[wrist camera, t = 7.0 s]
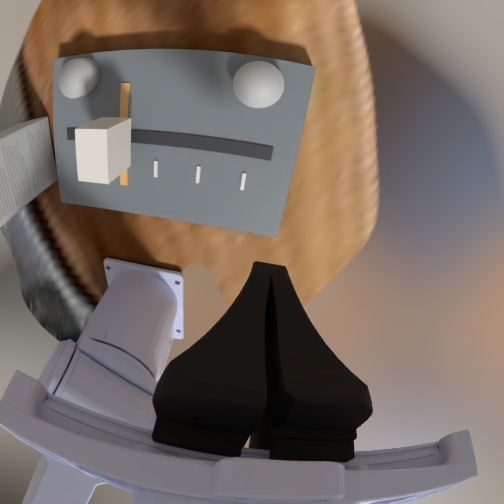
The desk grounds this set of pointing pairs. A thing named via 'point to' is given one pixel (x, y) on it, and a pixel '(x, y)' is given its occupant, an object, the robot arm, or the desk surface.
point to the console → (187, 132)
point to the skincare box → (24, 165)
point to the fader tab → (103, 149)
